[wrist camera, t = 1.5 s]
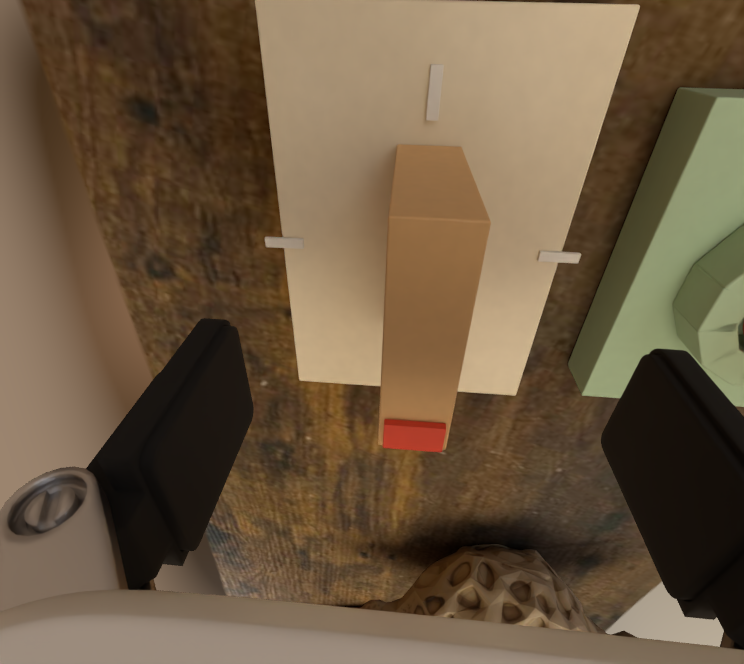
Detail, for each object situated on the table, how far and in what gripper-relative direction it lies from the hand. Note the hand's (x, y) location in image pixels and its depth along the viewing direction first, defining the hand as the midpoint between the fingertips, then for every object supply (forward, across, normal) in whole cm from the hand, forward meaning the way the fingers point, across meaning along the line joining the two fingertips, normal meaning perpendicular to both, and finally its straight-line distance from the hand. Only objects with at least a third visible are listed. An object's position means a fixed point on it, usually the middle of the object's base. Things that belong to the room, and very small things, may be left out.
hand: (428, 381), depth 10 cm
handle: (+6, 0, 0) cm, 6 cm away
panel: (+9, 0, 0) cm, 9 cm away
